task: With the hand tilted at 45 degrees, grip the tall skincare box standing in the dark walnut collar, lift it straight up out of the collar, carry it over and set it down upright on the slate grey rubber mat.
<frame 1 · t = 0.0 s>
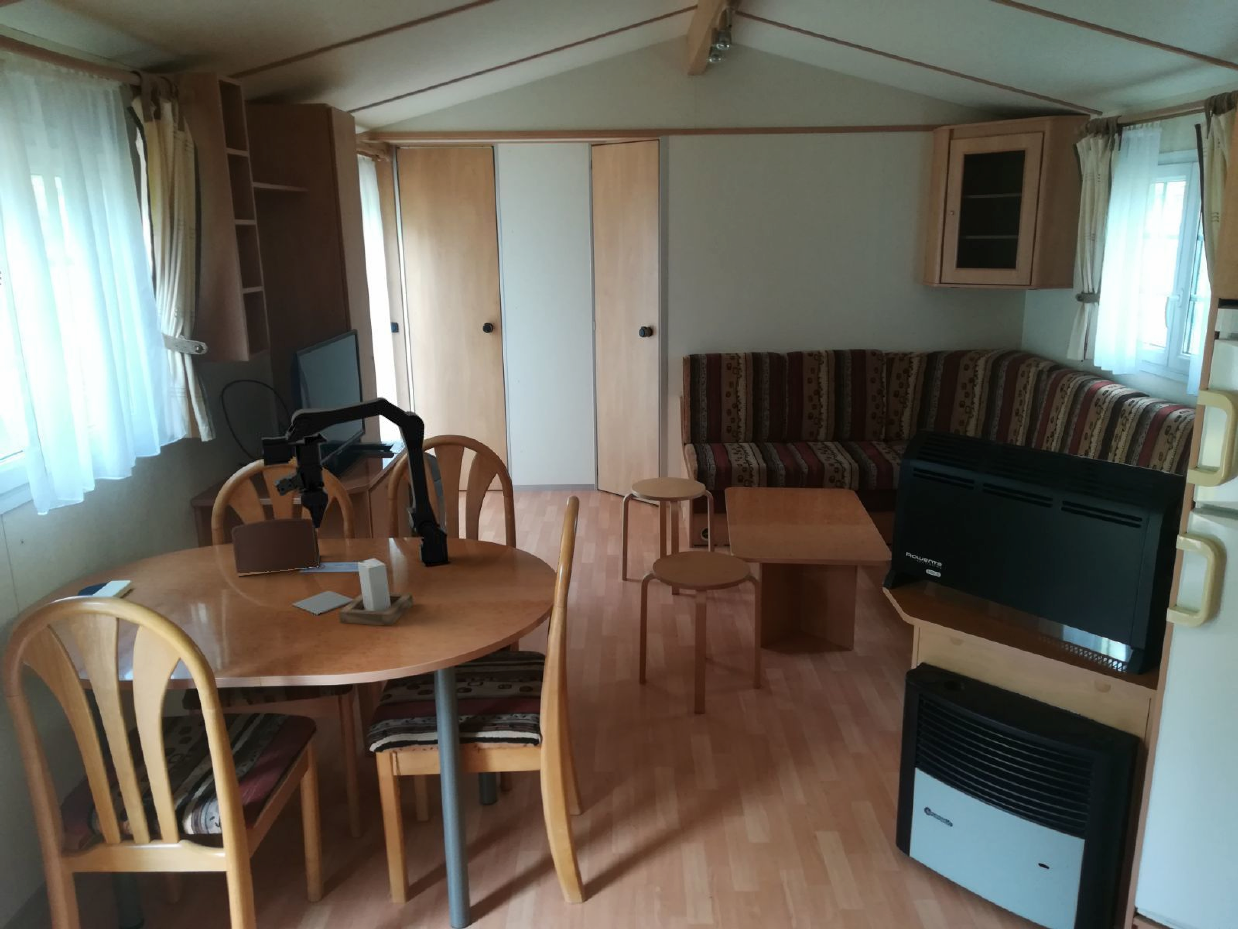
hand: (316, 522, 225), 15 cm above the table, tool pointing down, fingers open, 9 cm apart
walnut collar: (377, 613, 206), on the table
letter holder: (279, 567, 239), on the table
grey mat: (323, 603, 213), on the table
skincare box: (377, 614, 207), resting in walnut collar
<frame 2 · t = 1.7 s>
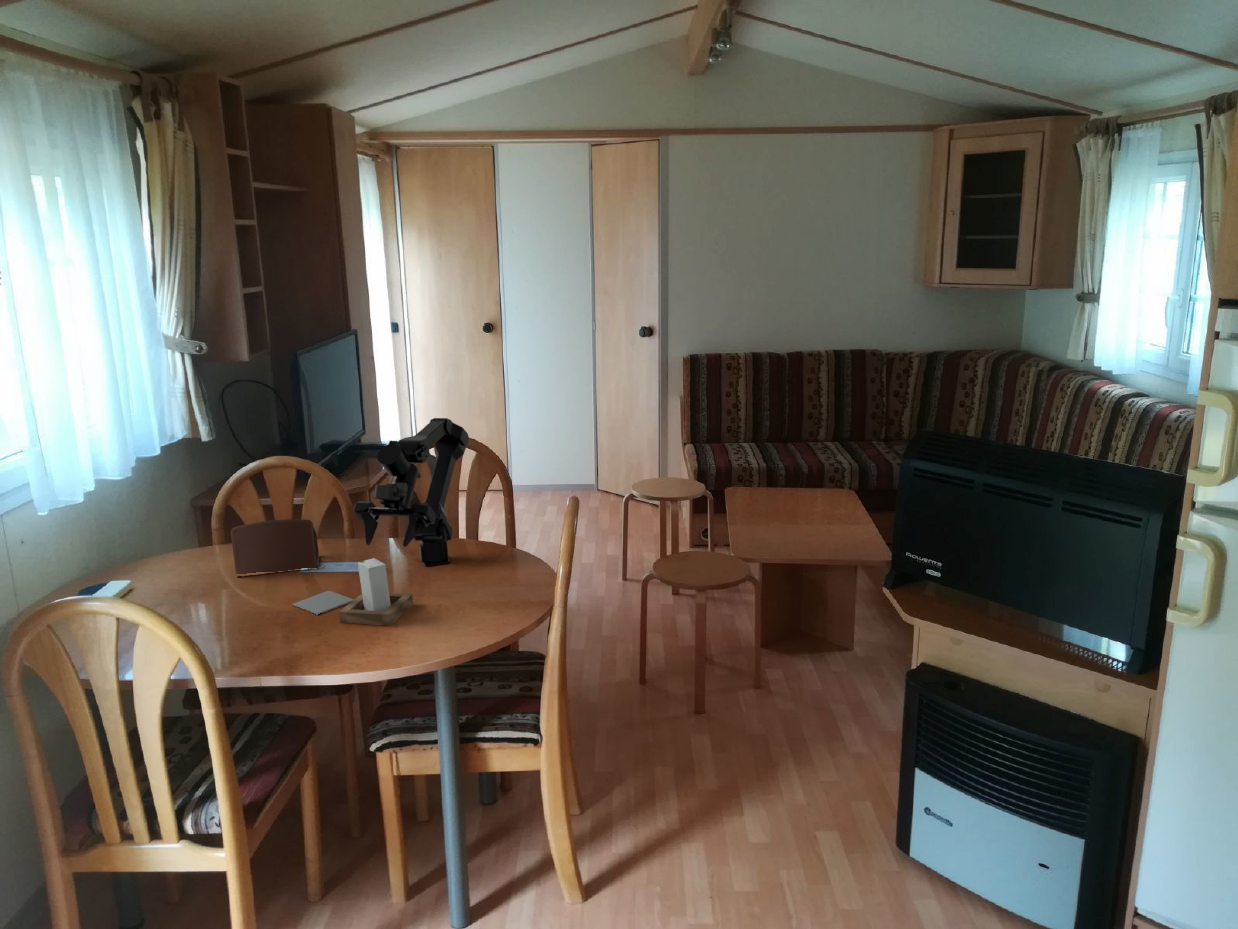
hand: (385, 545, 211), 13 cm above the table, tool tilted 45°, fingers open, 9 cm apart
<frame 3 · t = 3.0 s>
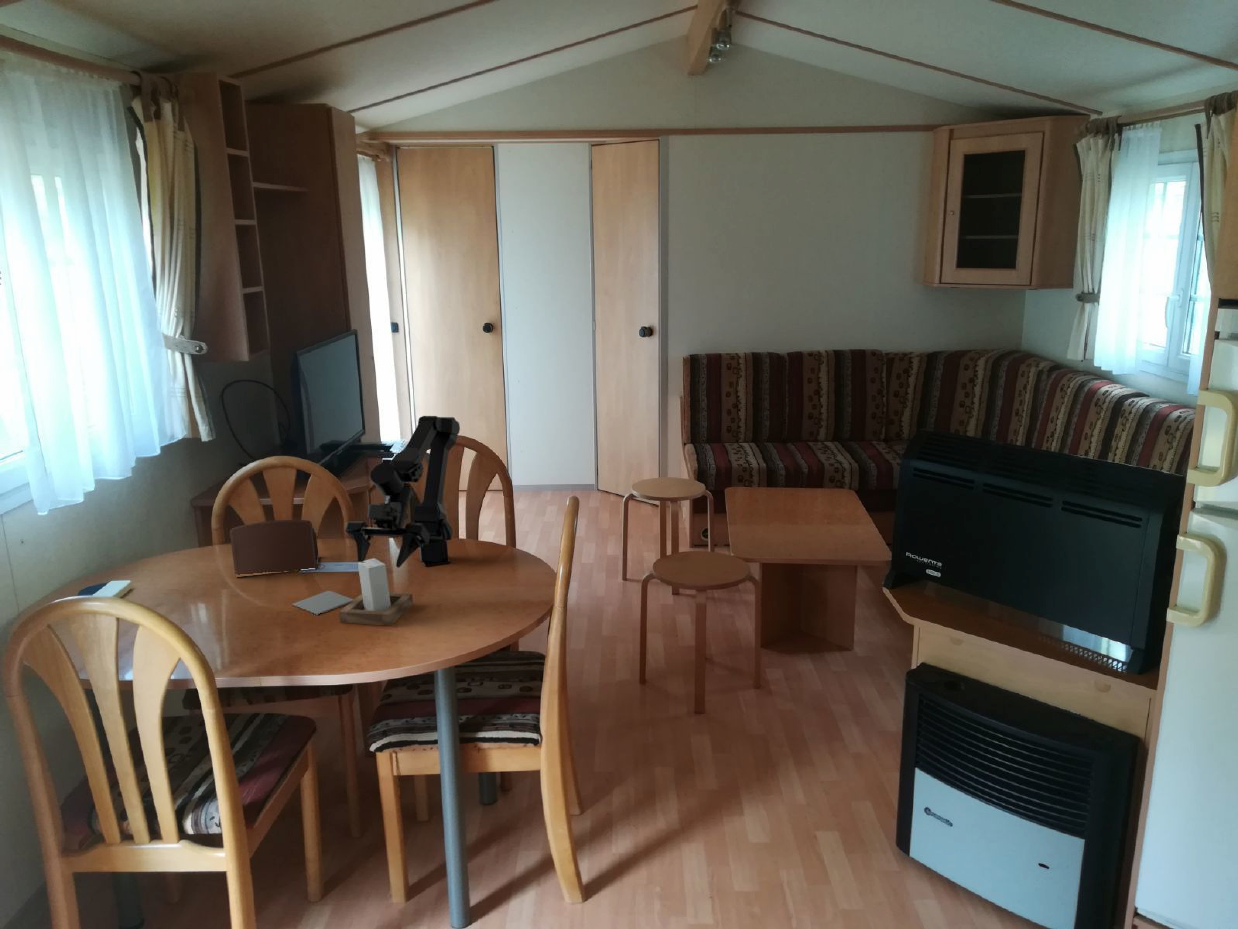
hand: (378, 566, 207), 10 cm above the table, tool tilted 45°, fingers open, 9 cm apart
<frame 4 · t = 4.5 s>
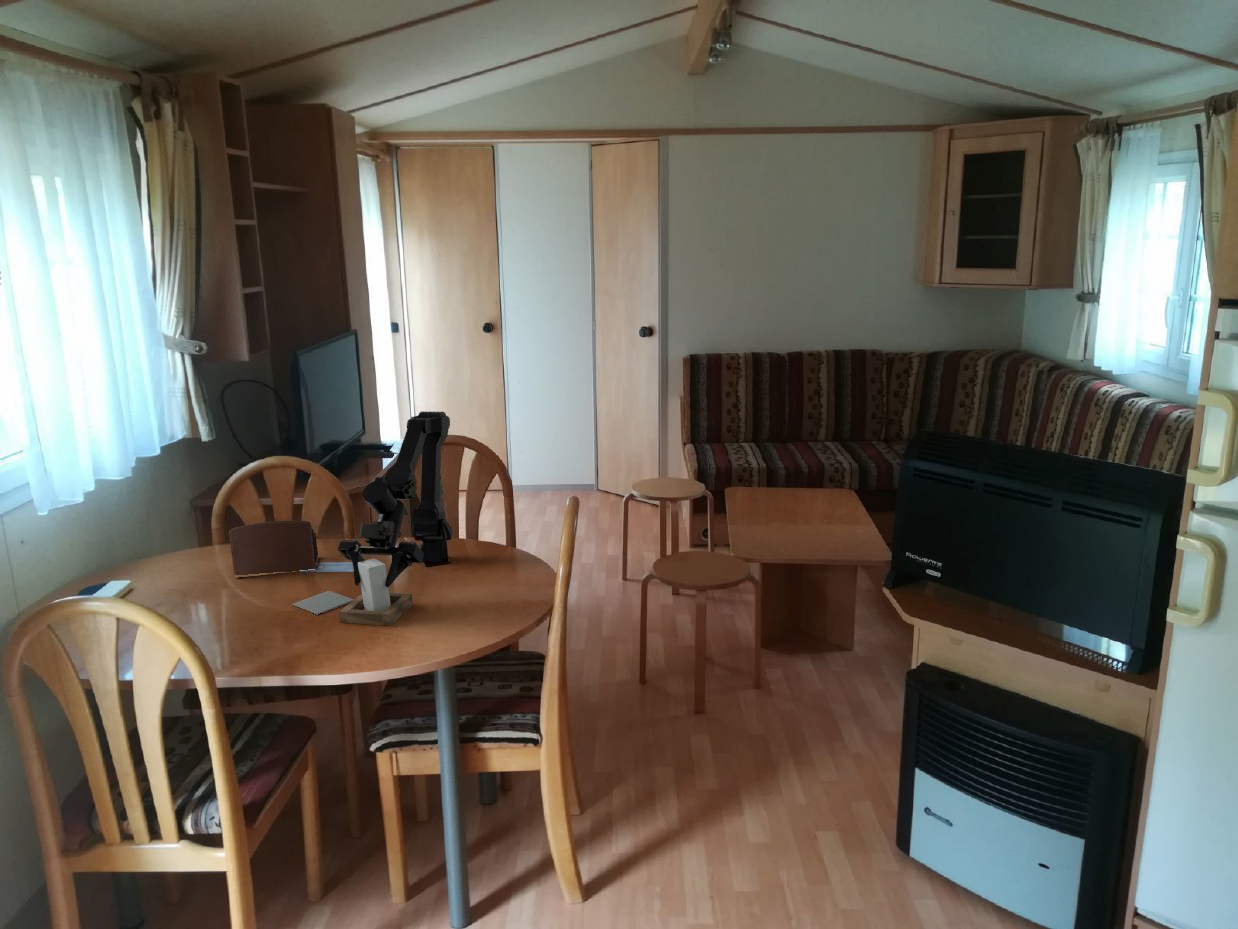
hand: (371, 586, 203), 7 cm above the table, tool tilted 45°, fingers closed on skincare box, 7 cm apart
skincare box: (377, 614, 206), resting in walnut collar, touching gripper
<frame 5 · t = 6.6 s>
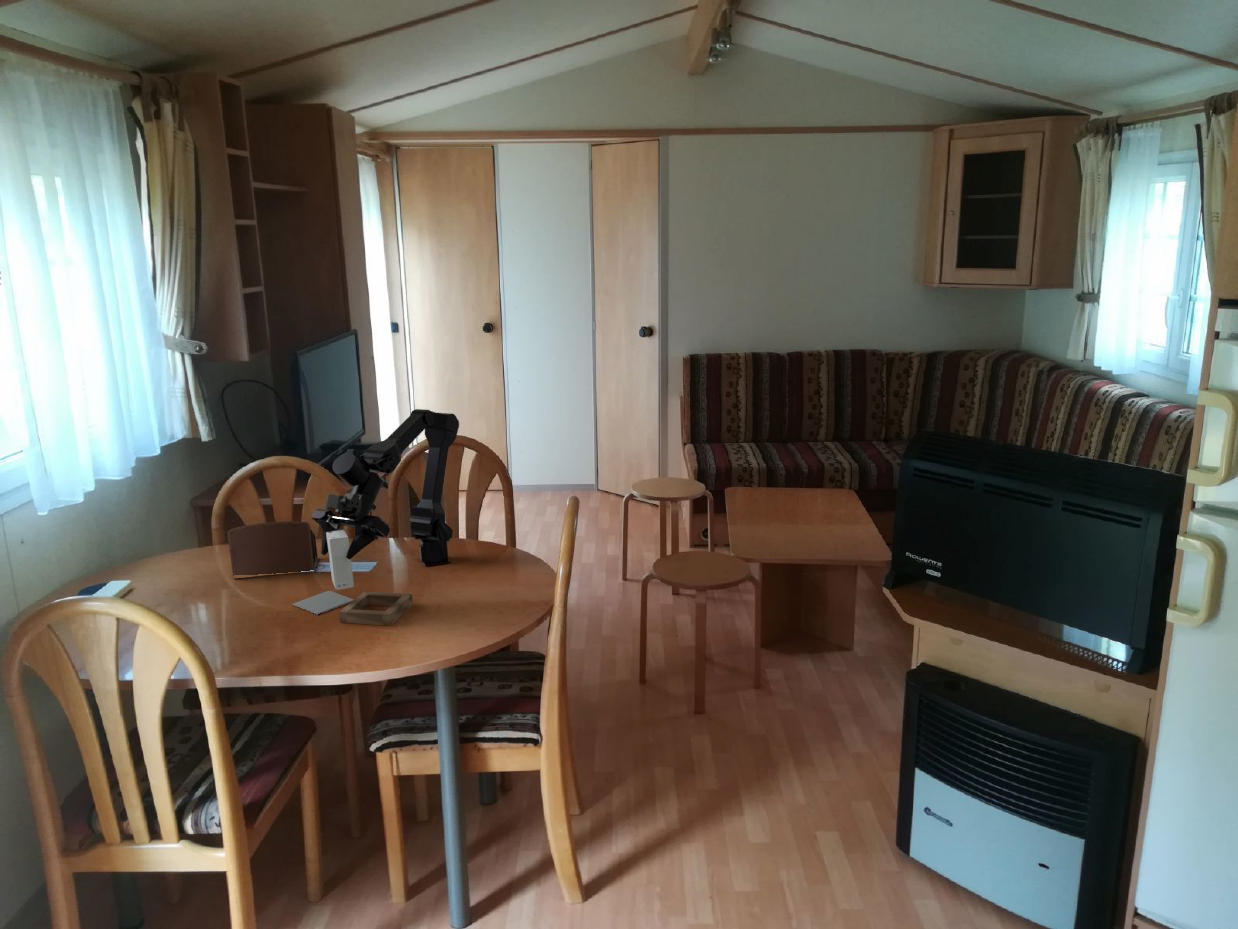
hand: (335, 556, 205), 13 cm above the table, tool tilted 45°, fingers closed on skincare box, 7 cm apart
skincare box: (342, 585, 208), point 6 cm above the table, touching gripper
when the fingers open (9 cm above the table, at t = 8.8 s): skincare box stays where it is, resting on grey mat.
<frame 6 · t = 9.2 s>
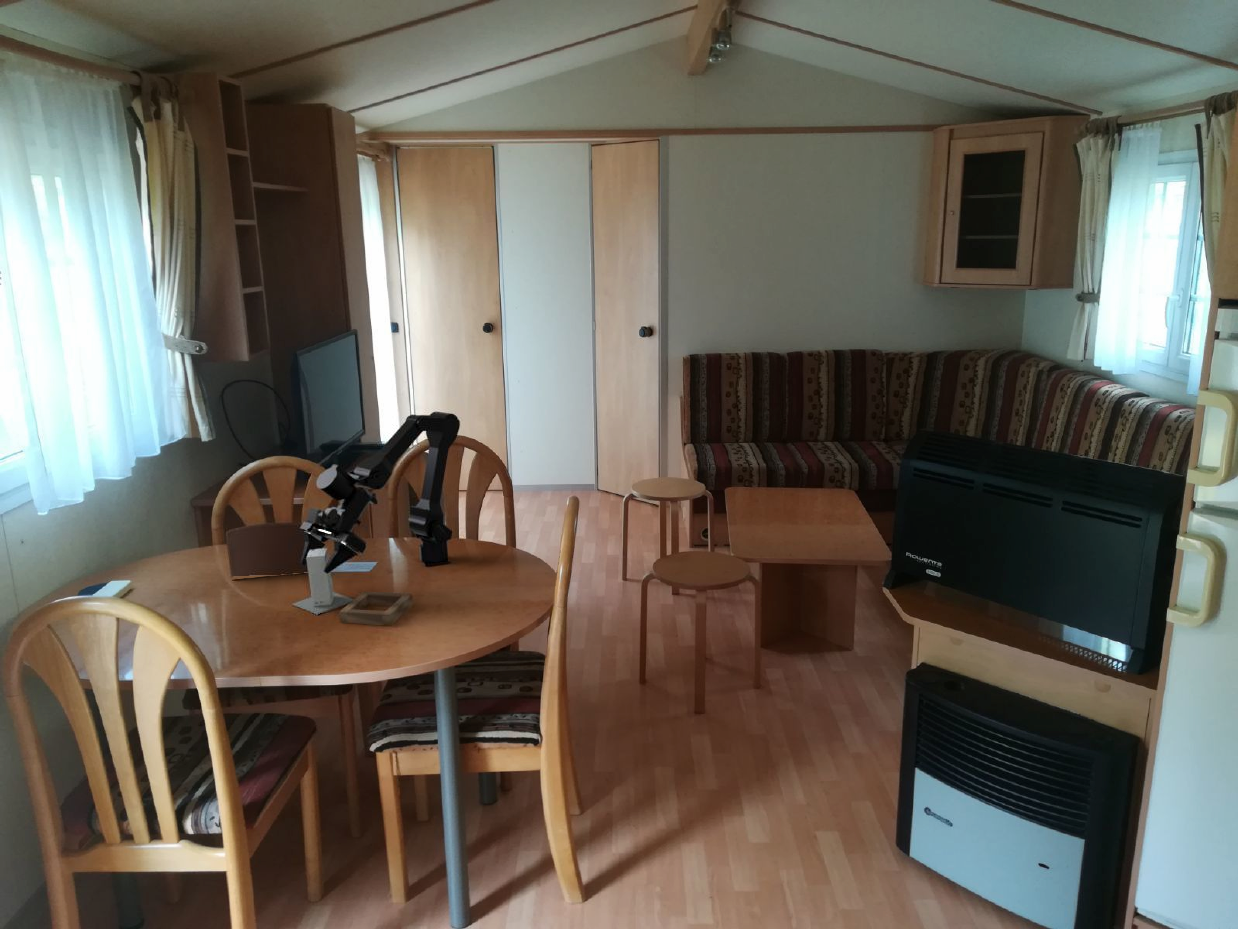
hand: (313, 568, 210), 9 cm above the table, tool tilted 45°, fingers open, 9 cm apart
skincare box: (323, 602, 213), resting on grey mat
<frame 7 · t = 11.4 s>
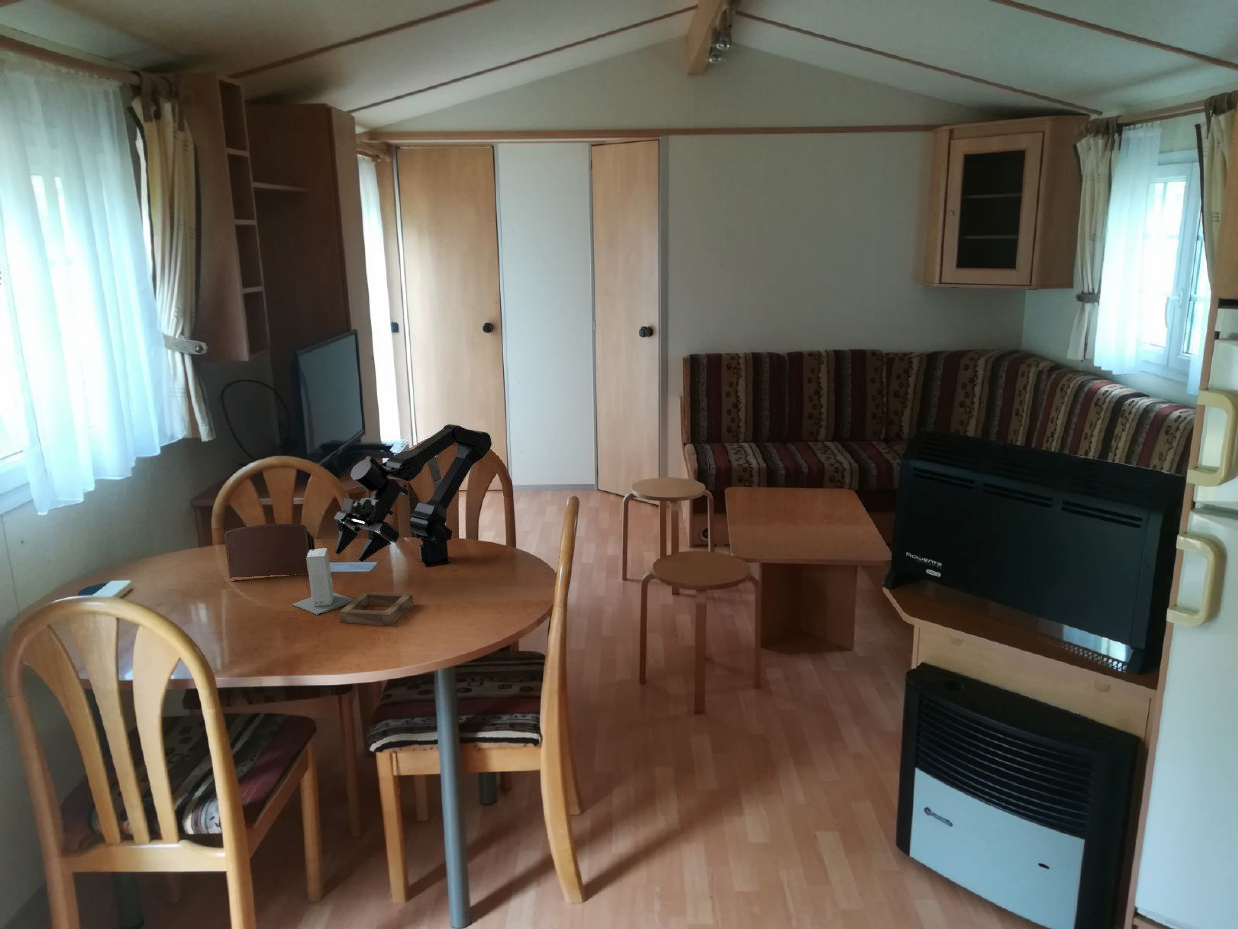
hand: (348, 557, 217), 9 cm above the table, tool tilted 45°, fingers open, 9 cm apart
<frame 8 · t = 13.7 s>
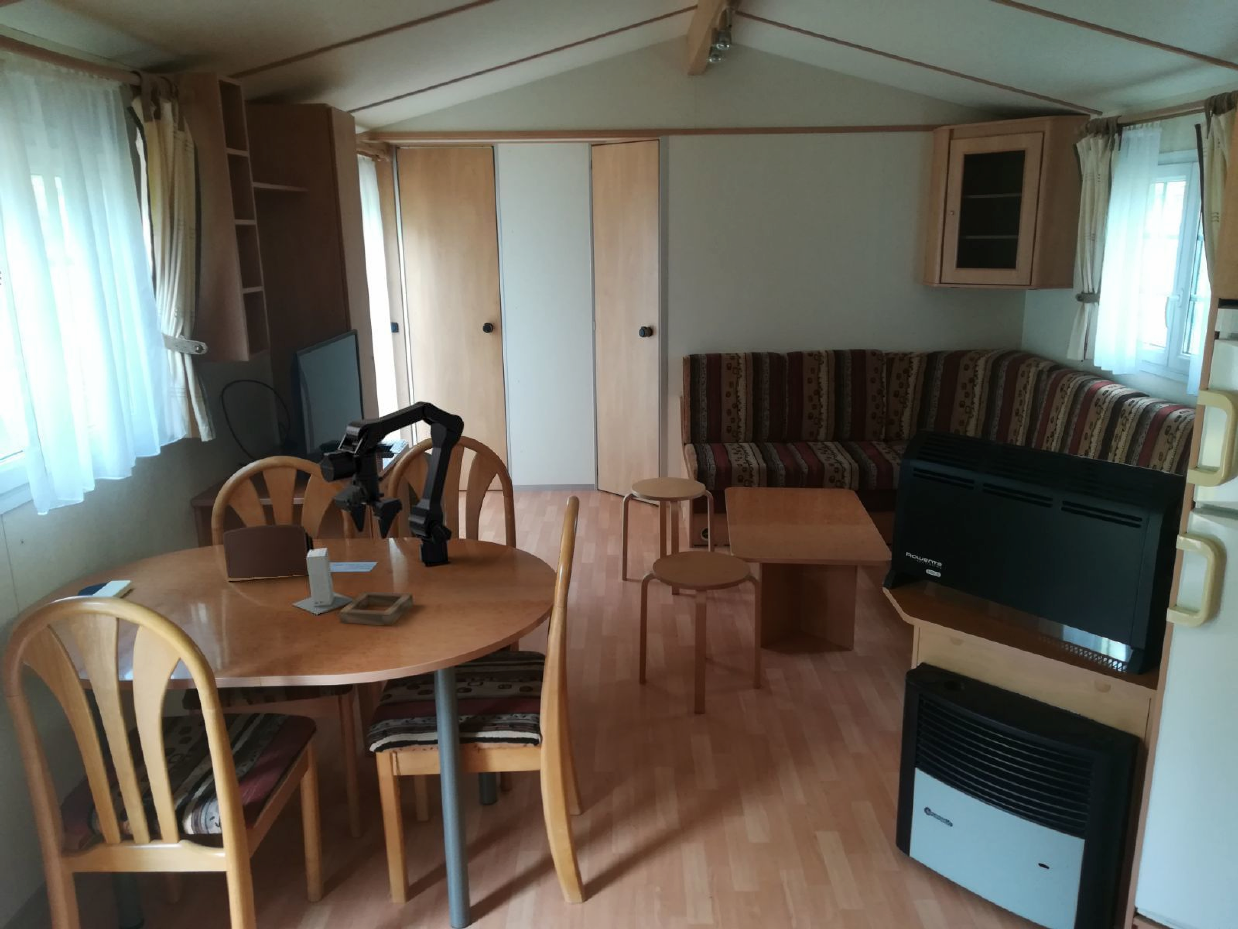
hand: (372, 535, 223), 12 cm above the table, tool pointing down, fingers open, 9 cm apart
at the end: skincare box inside the target area on the grey mat (0.3 cm from its centre), point 0.2 cm above the grey mat's base; skincare box tilted 0°; the gripper is holding nothing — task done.
